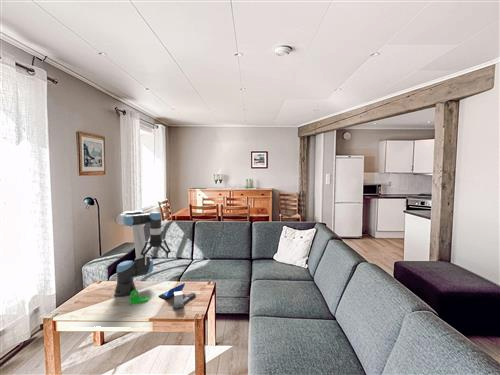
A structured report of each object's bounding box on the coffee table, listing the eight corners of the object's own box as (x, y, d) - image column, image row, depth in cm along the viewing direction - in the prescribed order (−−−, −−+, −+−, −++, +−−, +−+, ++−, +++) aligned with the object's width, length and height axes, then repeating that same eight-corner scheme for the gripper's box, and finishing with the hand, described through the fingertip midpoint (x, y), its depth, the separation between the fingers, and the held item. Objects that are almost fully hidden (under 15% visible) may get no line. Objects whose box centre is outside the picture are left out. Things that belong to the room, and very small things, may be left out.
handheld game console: (174, 290, 219) (174, 279, 218) (185, 294, 211) (185, 282, 211) (157, 297, 206) (157, 285, 205) (169, 302, 198) (169, 289, 198)
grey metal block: (173, 301, 192) (173, 292, 191) (181, 300, 194) (181, 290, 193) (174, 305, 187) (174, 295, 186) (182, 304, 189) (182, 294, 188)
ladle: (170, 308, 189) (170, 299, 188) (189, 295, 209) (189, 287, 208) (179, 310, 186) (178, 301, 185) (197, 297, 205) (197, 289, 205)
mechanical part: (130, 304, 194) (129, 293, 193) (130, 301, 199) (130, 290, 199) (148, 302, 198) (148, 291, 198) (148, 298, 204) (148, 288, 203)
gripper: (136, 236, 187) (136, 266, 188) (174, 233, 195) (174, 262, 196) (136, 234, 194) (137, 263, 195) (173, 231, 202) (173, 259, 203)
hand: (155, 263), depth 196 cm, fingers open, 13 cm apart
